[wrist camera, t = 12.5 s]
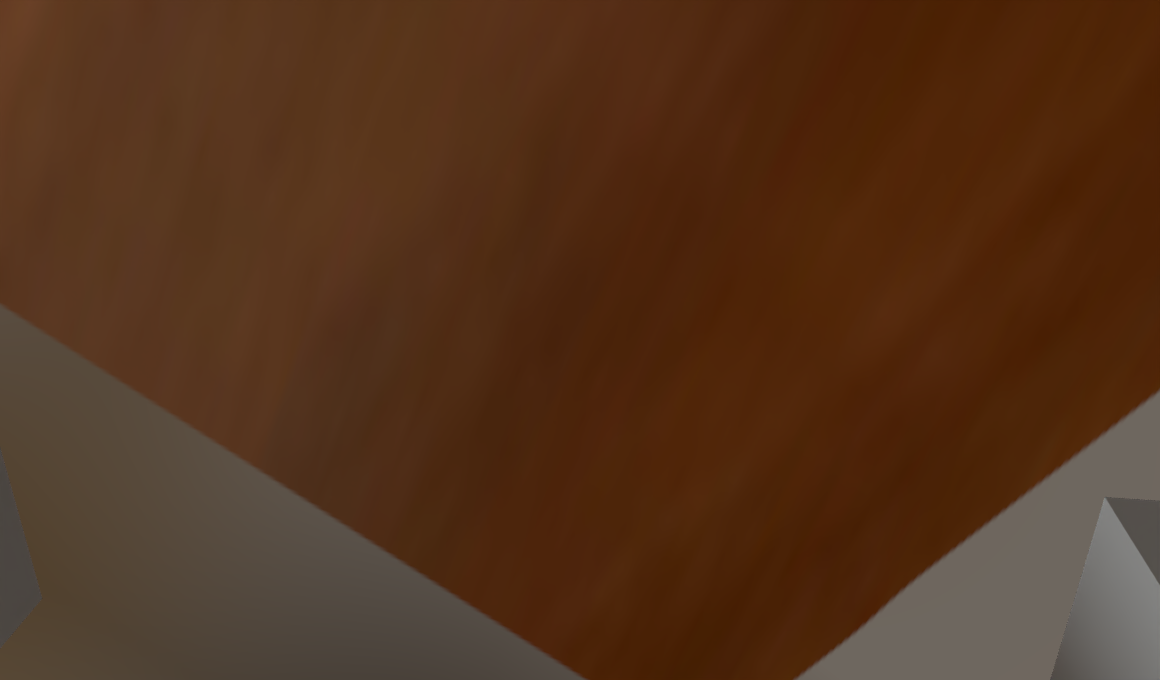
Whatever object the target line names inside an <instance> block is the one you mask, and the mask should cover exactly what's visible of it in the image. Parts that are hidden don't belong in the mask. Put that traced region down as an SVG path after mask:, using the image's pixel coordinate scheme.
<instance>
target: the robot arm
mask: <svg viewBox="0 0 1160 680" xmlns="http://www.w3.org/2000/svg"><path fill="white" fill-rule="evenodd" d="M41 599H42V597H41V593H40V589H39V586H38V582H37V579H36V575H35V572H34V568H33V564H32V561H31V557H30V554H29V550H28V546H27V543H26V539H25V535H24V532H23V528H22V525H21V521H20V517H19V514H18V510H17V507H16V503H15V499H14V496H13V492H12V489H11V485H10V482H9V478H8V474H7V471H6V467H5V463H4V460H3V456H2V452H1V449H0V648H1V647H2V645H3V644H4V643H5V642H6V641H7V640H8V638H9V637H10V636H11V635H12V634H13V633H14V631H15V630H16V629H17V628H18V627H19V625H20V624H21V623H22V622H23V621H24V619H25V618H26V617H27V616H28V615H29V613H30V612H31V611H32V610H33V609H34V608H35V606H36V605H37V604H38V603H39V602H40V600H41ZM1050 680H1160V501H1155V500H1140V499H1125V498H1111V497H1110V498H1109V497H1105V498H1104V501H1103V505H1102V508H1101V512H1100V515H1099V519H1098V522H1097V525H1096V528H1095V532H1094V535H1093V539H1092V542H1091V545H1090V548H1089V552H1088V555H1087V559H1086V562H1085V565H1084V569H1083V572H1082V575H1081V579H1080V582H1079V585H1078V589H1077V592H1076V595H1075V599H1074V602H1073V605H1072V609H1071V612H1070V616H1069V619H1068V622H1067V626H1066V629H1065V633H1064V636H1063V639H1062V642H1061V646H1060V649H1059V652H1058V656H1057V659H1056V662H1055V666H1054V669H1053V672H1052V676H1051V679H1050Z"/></svg>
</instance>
